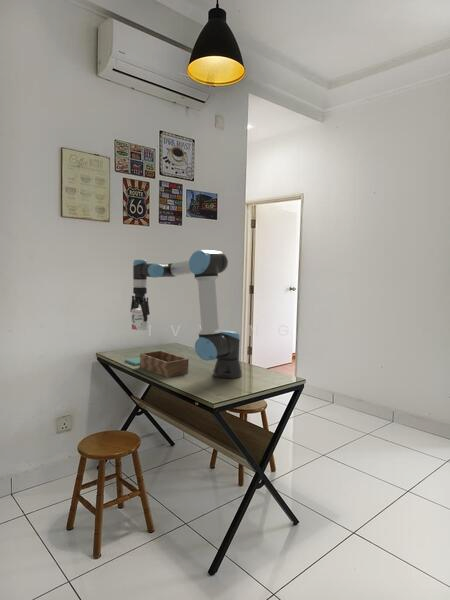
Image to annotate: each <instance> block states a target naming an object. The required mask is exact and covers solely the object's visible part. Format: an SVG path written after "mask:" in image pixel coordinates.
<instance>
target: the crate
mask: <svg viewBox="0 0 450 600" xmlns="http://www.w3.org/2000/svg"><path fill="white" fill-rule="evenodd" d="M139 357H140V365H139V367H140V368H141V369H145V370H147V371H149V372H152V373H155V374H157V375H159V376H162V377H165V378H170V377H175V376H180V375H184V374H185V375H186V374H189V358H186V357H184V356H180V355H177V354H173V353H171V352H167V351H164V350H156V351H148V352H143V353H140V354H139Z"/></svg>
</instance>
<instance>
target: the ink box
mask: <svg viewBox="0 0 450 600" xmlns="http://www.w3.org/2000/svg"><path fill="white" fill-rule="evenodd" d="M130 310H131V311H130V314H131V330H136V331H147V330H149V315H147V327H142V315H143V313H142V309H141V307H138V308H134V309H131V308H130ZM147 313H148V312H147Z"/></svg>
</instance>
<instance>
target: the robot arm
mask: <svg viewBox="0 0 450 600" xmlns="http://www.w3.org/2000/svg"><path fill="white" fill-rule="evenodd" d="M132 264H133V265H132V278H133V279H132V281H133V282H132V285H133V287H132V293H133V295H131V302H130V303H131V304H130V312H131V309H134V308H141V309H142V313H143V315H142V327H147V315H148V316H149V315H150V306H149V297H148V296H147V297H146V294H147V292H148V291H147V290H148V289H147V287H148V286H147V284H148V283H147V280H148V278H156V279H157V278H174V277H177V276H178V277H179V276H184V275H185V276H186V275H191V274H194V279H195V280H196V281H197V287H198V289H197V290H198V301H199V313H200V327H201V329H200V331H199V332H198V338H197V339H196V341H195V343H194V351H195V354H196V355H197V357H199V358H200V359H201V360H202V361H214V360H215V365H214V367H213V369H212V376H213V377H216V378H220V379H235V378H240V377H242V376H243V371H242V370H243V369H242V368H241V367H242V366H241V363H240V341H241V339H240V333H238V331H237V332H236V331H232V330H231V331H230V330H222V329H220V328H219V314H218V302H217V300H218V299H217V287H216V286H217V285H216V280H217V279H218V277H219V274H221V273H223V272H224V271H225V270H226V269H227V268H228V264H229V261H228V258H227V255H226V254H225V253H224V252H223V251H219V250H209V249H200V250H199V249H198V250H196V251H193V253H192V254H191V256H190V257H189V260H184V261H182V260H181V261H177V262H171V263H148V261H147V260H146V259H134V260H133V263H132ZM147 312H148V313H147Z"/></svg>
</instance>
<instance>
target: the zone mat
mask: <svg viewBox="0 0 450 600" xmlns="http://www.w3.org/2000/svg"><path fill="white" fill-rule="evenodd" d="M124 362H125V363H127V364H131V365H133V366H140V356H139V357H138V356H137V357H133V358H132V357H131V358H127V359H124Z"/></svg>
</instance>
